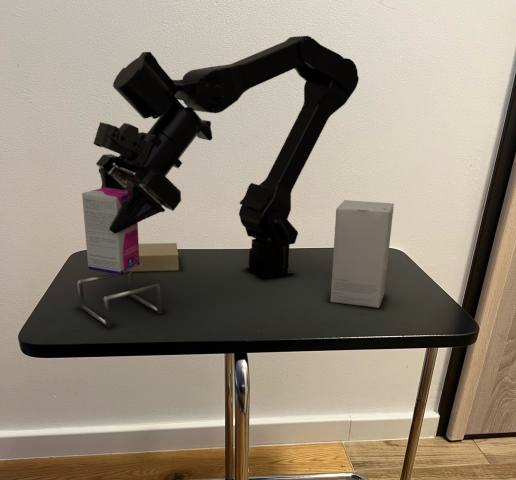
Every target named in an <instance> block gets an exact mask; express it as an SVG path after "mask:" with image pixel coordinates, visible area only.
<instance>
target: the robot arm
mask: <svg viewBox="0 0 516 480" xmlns="http://www.w3.org/2000/svg"><path fill="white" fill-rule="evenodd" d="M292 70H295V71H296V73H297V75H298V76H299V77H300V78H302V79H303V80H304V81H305V82H304V85H303V105H302V107H301V109H300V111H299V113H298V115H297V117H296V119H295V121H294V122H293V125H292V126H291V129H290V130H289V132H288V135H287V137H286V139H285V140H284V142H283V144H282V146H281V148H280V151H279V152H278V155H277V157H276V158H275V161H274V163H273V164H272V166H271V168H270V171H269V173H268V175H267V176H266V178H265V179H264V180H263V181H262V182H261V183H259V184H256V183H253V182H250V183H249V185H248V187H247V189H246V192H245V195H244V197H243V198H242V199H241V200H240V201H239V205H240V208H239V212H238V216H239V219H240V222H241V225H242V226H243V227H244V229H245V231H246V235H247V236H248V237H250V238H252V239H251V247H250V248H249V254H248V266H246V270H247V271H248V272H250V273H251V274H253V275H255V276H257V277H259V278H260V279H261V280H266V279H267V280H268V279H274V278H280V277H285V276H292V275H293V273H294V272H293V270H291V269H289V261H290V245H294V244H296V242H297V238H298V235H299V231H298V230H297V229H296V228H295V226H294V225H293V224H292V223H291V222H290V221H289V220H288V219H289V216H290V214H291V210H292V191H293V189H294V188H295V186H296V184H297V181H298V179H299V178H300V175H301V173H302V171H303V170H304V167H305V165H306V164H307V161H308V160H309V158H310V156H311V154H312V152H313V149H314V148H315V146H316V144H317V143H318V141H319V138H320V137H321V134H322V132H323V131H324V129H325V126H326V124H327V122H328V120H329V118H330V117H331V116H333V115H334V113H336V112H337V111H338V110H340V109H341V108H343V106H344V105H345V104H347V102H348V101H349V99H350V98H351V96H352V95H353V93H354V92H355V90H356V89H357V86H358V84H359V80H360V77H359V72H358V68H357V65H356V63H355V62H354V61H353V60H352V59H351V58H347V57H344V56H342V54H339V53H338V52H335V51H334V50H332V49H330V48H329V47H327V46H324V45H322V44H321V43H319V42H318V41H317V40H316V39H315V38H314V37H313V38H312V36H311V35H310V36H309V35H299V36H297V35H295V36H290V37H288V38H287V39H286V40H284V41H282V42H280V43H277V44H275V45H273V46H271V47H268V48H265V49H264V50H260V51H258V52H256V53H254V54H251V55H249V56H247V57H244V58H241V59H240V60H239V59H238V60H237V61H235V62H232V63H230V64H224V65H223V64H222V65H215V66H207V67H202V68H201V67H200V68H196V69H191V70H189V71H187V72H186V73H185V74H184V75H183V76H182V79H172V78H171V76H170V75H169V74H168V73H167V72H166V70H164V69H163V68H162V66H161V65H160V63H159V62H158V60H157V58H156V57H155V56H154V54H153V53H152V52H151V51H143V52H141V53H140V55H139V56H138V57H136V58H135V59H134V60H132V61H131V62H130V63H129V64H127V65H126V67H123V68H121V70H120V71H119V72H118V74H117V75H116V76H115V79H114V81H113V83H112V87H113V89H114V90H116V92H117V93H118V94H119V95H120V96H121V97H122V98H123V99H124V100H125V101H126V102H127V103H128V104H129V105H130V106H131V108H133V109H134V111H136V113H138V115H139V116H140V117H141V118H142V119H144V120H145V119H149V118H151V119H154V120H156V121H155V122H154V123H153V125H152V126H151V128H150V129H149V130H148V131H147V132H143V131H141V132H140V131H139V128H138V127H137V126H134V125H133V124H130V123H126V122H124V123H122V124H121V125H120V126H119V127H118V126H116V125H112V124H110V123H105V122H101V121H100V122H99V124H98V127H97V131H96V134H95V137H94V140H93V143H92V144H93V145H94V146H96V147H99V148H103V149H106V150H109V151H111V152H114V153H116V154H119V155H115V154H112V153H106V154H102V155H101V157H99V159H98V161H97V162H96V163H95V165H97V167H98V173H99V174H100V180H101V187H100V188H112V189H119V190H128V196H127V198H126V200H125V202H124V203H123V205H122V207H121V208H120V210H119V212H118V213H117V215H116V217H115V218H114V220H113V222H112V224H111V226H110V228H109V230H110V231H112V232H113V233H114V234H116V233H118V232H120V231H122V230H124V229H126V228H128V227H130V226H132V225H134V224H136V223H138V224H139V223H140V222H143V221H145V220H147V219H149V218H151V217H153V216H155V215H158V214H160V213H164V212H165V211H166V209H167V210H170V211H172V212H174V211H175V209H176V208H177V207H178V205H180V203H181V202H182V191H181V190H180V189H179V188H178V187H177V186H176V185H175V184H174V183H173V182H172V181H171V180H170V178H168V177H167V175H168V174H169V173H170V171H171V170H172V169H173V168H176V169H180V167H181V166H182V165H183V162H182V161H181V159H180V158H181V157H182V156H183V155H184V153H185V152H186V151H187V150H188V148H189V147H190V145H191V144H192V143H193V142H194V140H195V139H196V138H198V139H200V140H207V141H212V140H213V132H212V122H211V120H208V119H207V120H206V119H205V120H204V119H202V118H201V117H200V116H199V115H198V113H197V112H201V113H211V114H219V113H222V112H224V111H225V110H227V109H228V108H229V107H231V106H232V105H233V104H235V103H236V102H238V100H240V98H241V97H242V96H243V94H244V93H245V92H247V91H249V90H251V89H252V88H254V87H256V86H258V85H261V84H263V83H265V82H268V81H270V80H272V79H274V78H277V77H279V76H281V75H283V74H285V73H288V72H290V71H292ZM180 101H182V102H183V103H184V105H183V104H182V102H180Z"/></svg>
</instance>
